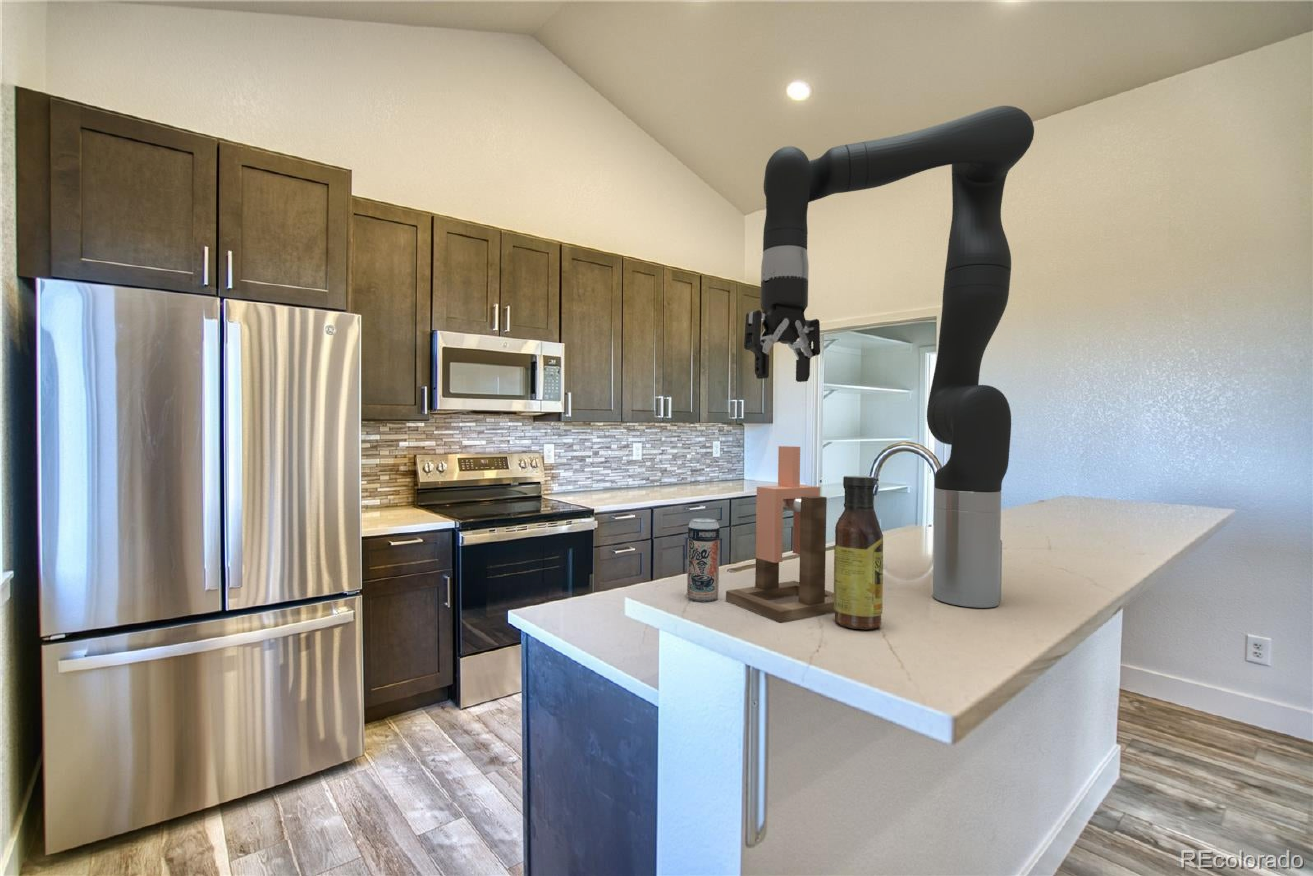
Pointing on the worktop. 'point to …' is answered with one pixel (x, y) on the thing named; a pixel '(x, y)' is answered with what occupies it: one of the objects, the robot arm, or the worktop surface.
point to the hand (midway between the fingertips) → (782, 380)
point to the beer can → (703, 559)
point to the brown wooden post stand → (810, 575)
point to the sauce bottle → (858, 558)
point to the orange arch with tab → (780, 506)
